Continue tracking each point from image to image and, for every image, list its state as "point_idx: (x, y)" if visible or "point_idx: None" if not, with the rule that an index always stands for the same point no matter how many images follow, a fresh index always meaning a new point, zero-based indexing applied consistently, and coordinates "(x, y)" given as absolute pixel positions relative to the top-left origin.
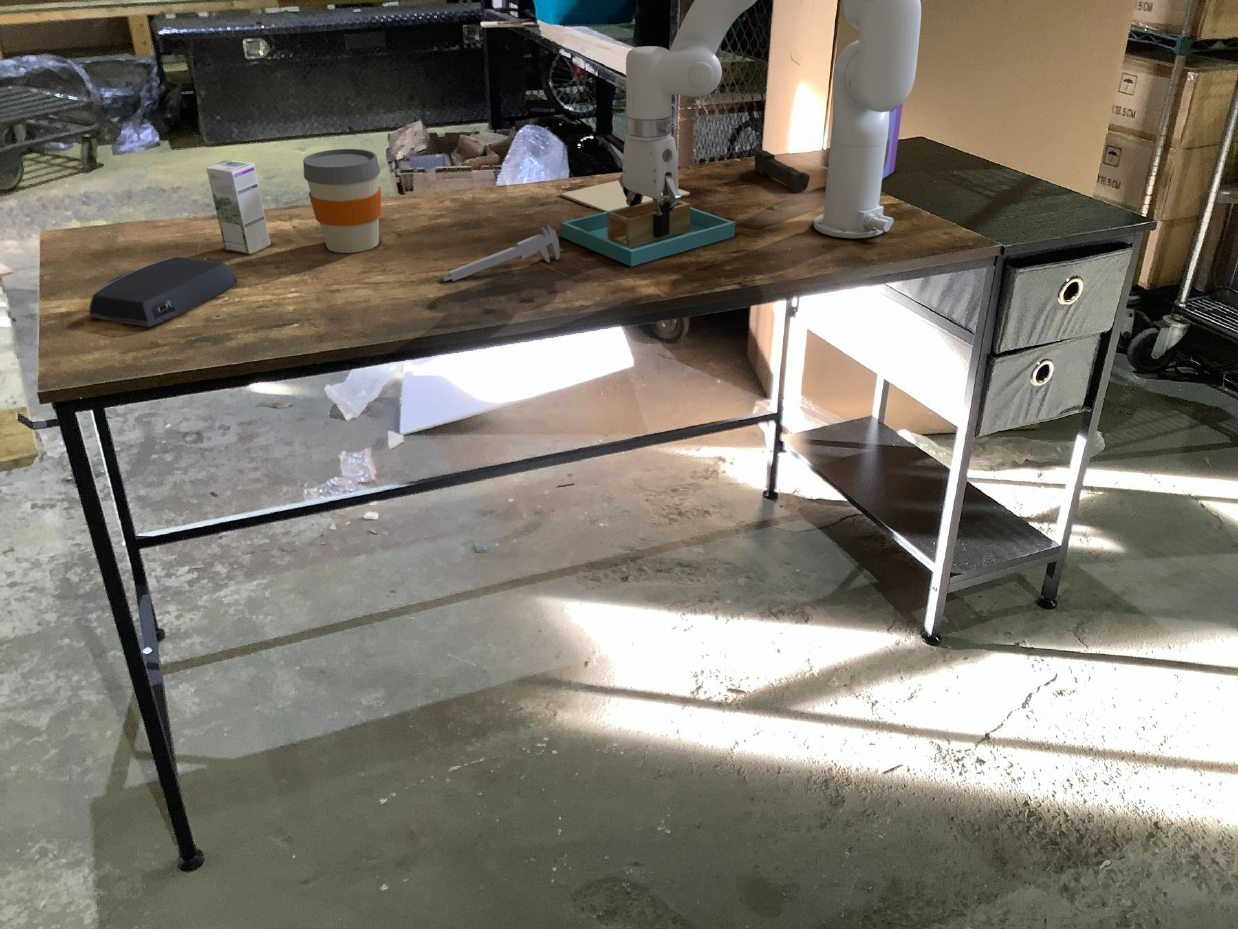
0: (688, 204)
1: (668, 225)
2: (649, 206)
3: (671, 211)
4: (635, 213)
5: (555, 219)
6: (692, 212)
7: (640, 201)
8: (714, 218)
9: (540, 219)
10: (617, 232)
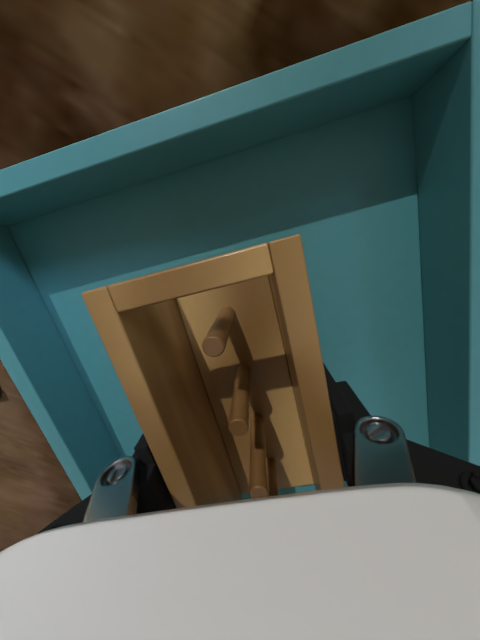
0: (302, 250)
1: (353, 391)
2: (173, 421)
3: (395, 426)
4: (204, 475)
5: (17, 513)
6: (160, 153)
7: (149, 477)
8: (333, 88)
9: (11, 537)
10: (235, 489)
